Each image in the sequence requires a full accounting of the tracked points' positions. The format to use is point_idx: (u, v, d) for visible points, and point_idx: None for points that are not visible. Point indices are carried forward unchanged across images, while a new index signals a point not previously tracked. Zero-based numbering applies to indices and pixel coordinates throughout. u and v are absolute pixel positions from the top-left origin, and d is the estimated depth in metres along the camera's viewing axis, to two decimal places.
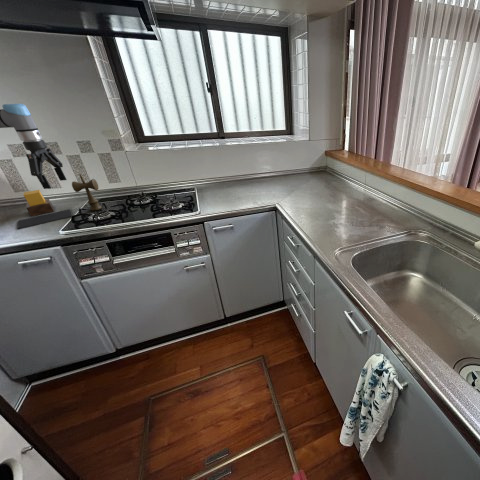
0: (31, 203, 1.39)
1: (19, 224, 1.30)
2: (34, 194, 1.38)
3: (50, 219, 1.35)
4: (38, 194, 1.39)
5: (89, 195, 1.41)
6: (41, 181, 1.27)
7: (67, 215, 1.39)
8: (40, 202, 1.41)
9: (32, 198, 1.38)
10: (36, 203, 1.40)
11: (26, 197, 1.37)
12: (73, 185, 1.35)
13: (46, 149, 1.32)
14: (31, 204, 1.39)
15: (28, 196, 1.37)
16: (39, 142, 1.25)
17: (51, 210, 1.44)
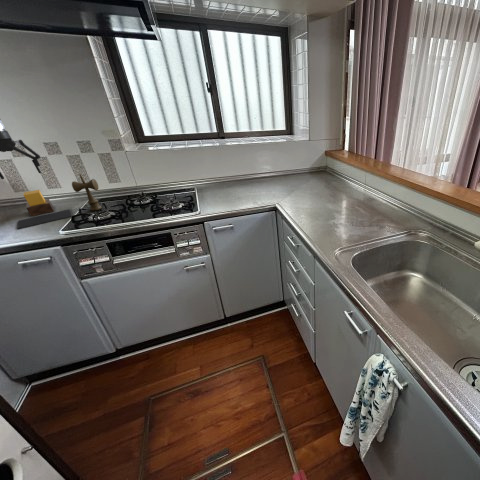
0: (31, 203, 1.39)
1: (19, 224, 1.30)
2: (34, 194, 1.38)
3: (50, 219, 1.35)
4: (38, 194, 1.39)
5: (89, 195, 1.41)
6: None
7: (67, 215, 1.39)
8: (40, 202, 1.41)
9: (32, 198, 1.38)
10: (36, 203, 1.40)
11: (26, 197, 1.37)
12: (73, 185, 1.35)
13: None
14: (31, 204, 1.39)
15: (28, 196, 1.37)
16: None
17: (51, 210, 1.44)
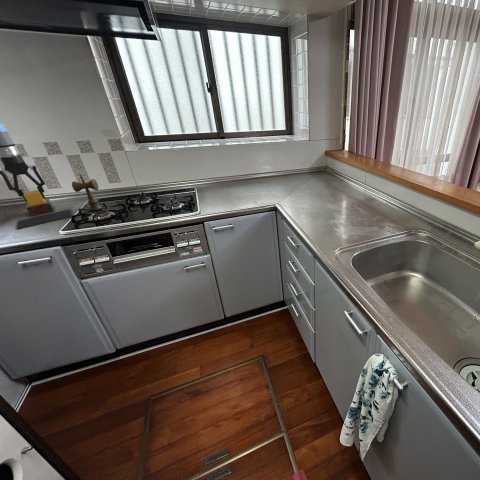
0: (31, 203, 1.39)
1: (19, 224, 1.30)
2: (34, 194, 1.38)
3: (50, 219, 1.35)
4: (38, 194, 1.39)
5: (89, 195, 1.41)
6: None
7: (67, 215, 1.39)
8: (40, 202, 1.41)
9: (32, 198, 1.38)
10: (36, 203, 1.40)
11: (26, 197, 1.37)
12: (73, 185, 1.35)
13: (31, 166, 1.36)
14: (31, 204, 1.39)
15: (28, 196, 1.37)
16: (5, 159, 1.27)
17: (51, 210, 1.44)
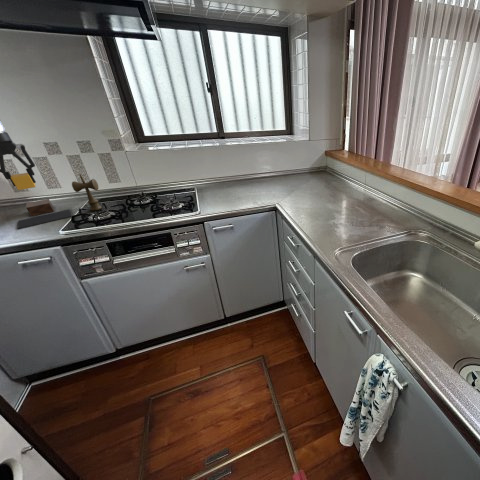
0: (19, 186, 1.25)
1: (19, 224, 1.30)
2: (23, 177, 1.24)
3: (50, 219, 1.35)
4: (27, 177, 1.25)
5: (89, 195, 1.41)
6: None
7: (67, 215, 1.39)
8: (30, 186, 1.27)
9: (20, 181, 1.24)
10: (25, 187, 1.26)
11: (14, 180, 1.23)
12: (73, 185, 1.35)
13: (19, 145, 1.22)
14: (19, 188, 1.25)
15: (16, 178, 1.23)
16: None
17: (51, 210, 1.44)
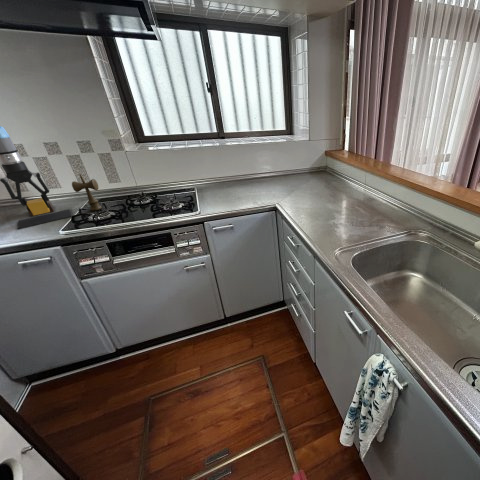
0: (35, 212, 1.31)
1: (19, 224, 1.30)
2: (38, 203, 1.30)
3: (50, 219, 1.35)
4: (42, 203, 1.31)
5: (89, 195, 1.41)
6: None
7: (67, 215, 1.39)
8: (44, 211, 1.33)
9: (36, 207, 1.30)
10: (40, 212, 1.32)
11: (29, 206, 1.29)
12: (73, 185, 1.35)
13: (34, 173, 1.28)
14: (35, 213, 1.31)
15: (32, 204, 1.29)
16: (7, 166, 1.19)
17: (51, 210, 1.44)
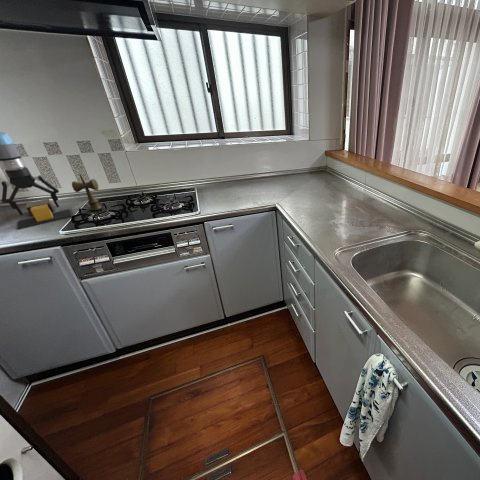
0: (38, 218, 1.32)
1: (19, 224, 1.30)
2: (42, 209, 1.32)
3: (50, 219, 1.35)
4: (46, 209, 1.33)
5: (89, 195, 1.41)
6: None
7: (67, 215, 1.39)
8: (48, 217, 1.35)
9: (39, 213, 1.32)
10: (44, 218, 1.34)
11: (33, 213, 1.31)
12: (73, 185, 1.35)
13: (36, 177, 1.29)
14: (38, 220, 1.33)
15: (36, 211, 1.31)
16: (11, 172, 1.21)
17: (51, 210, 1.44)
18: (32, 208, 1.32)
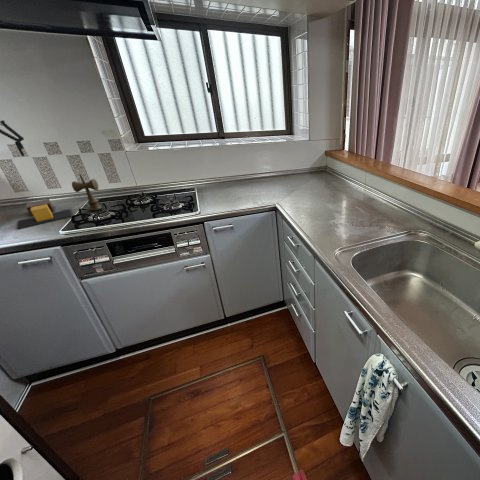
0: (38, 218, 1.32)
1: (19, 224, 1.30)
2: (42, 209, 1.32)
3: (50, 219, 1.35)
4: (46, 209, 1.33)
5: (89, 195, 1.41)
6: None
7: (67, 215, 1.39)
8: (48, 217, 1.35)
9: (39, 213, 1.32)
10: (44, 218, 1.34)
11: (33, 213, 1.31)
12: (73, 185, 1.35)
13: None
14: (38, 220, 1.33)
15: (36, 211, 1.31)
16: None
17: (51, 210, 1.44)
18: (32, 208, 1.32)
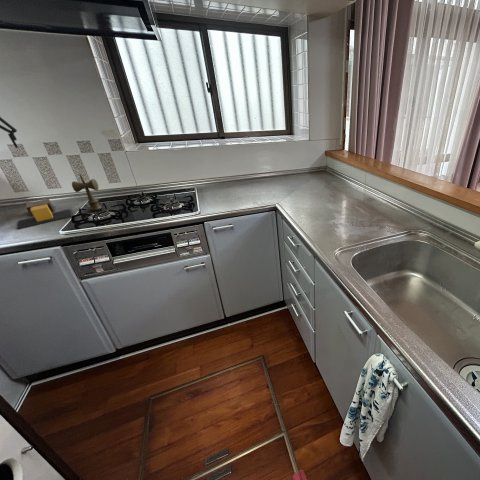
0: (38, 218, 1.32)
1: (19, 224, 1.30)
2: (42, 209, 1.32)
3: (50, 219, 1.35)
4: (46, 209, 1.33)
5: (89, 195, 1.41)
6: None
7: (67, 215, 1.39)
8: (48, 217, 1.35)
9: (39, 213, 1.32)
10: (44, 218, 1.34)
11: (33, 213, 1.31)
12: (73, 185, 1.35)
13: None
14: (38, 220, 1.33)
15: (36, 211, 1.31)
16: None
17: (51, 210, 1.44)
18: (32, 208, 1.32)
